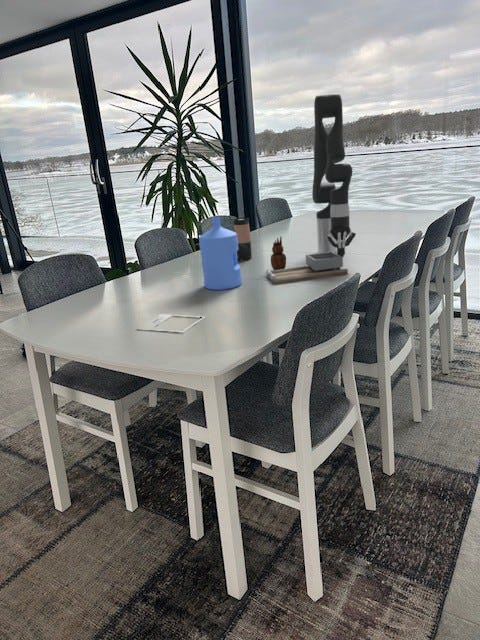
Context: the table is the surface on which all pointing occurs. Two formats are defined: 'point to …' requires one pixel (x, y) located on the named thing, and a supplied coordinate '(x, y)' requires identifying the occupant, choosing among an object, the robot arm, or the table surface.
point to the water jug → (220, 257)
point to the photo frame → (165, 316)
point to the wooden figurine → (278, 256)
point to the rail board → (301, 274)
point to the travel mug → (243, 238)
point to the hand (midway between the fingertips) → (341, 256)
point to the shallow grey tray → (324, 261)
